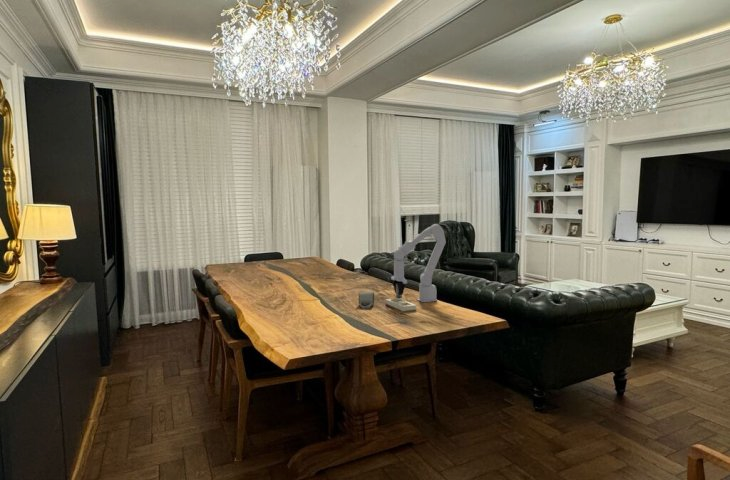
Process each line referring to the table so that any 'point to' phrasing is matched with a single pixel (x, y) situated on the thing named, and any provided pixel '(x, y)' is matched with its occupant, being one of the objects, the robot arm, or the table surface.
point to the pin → (397, 292)
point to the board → (400, 305)
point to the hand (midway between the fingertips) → (398, 293)
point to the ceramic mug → (366, 299)
